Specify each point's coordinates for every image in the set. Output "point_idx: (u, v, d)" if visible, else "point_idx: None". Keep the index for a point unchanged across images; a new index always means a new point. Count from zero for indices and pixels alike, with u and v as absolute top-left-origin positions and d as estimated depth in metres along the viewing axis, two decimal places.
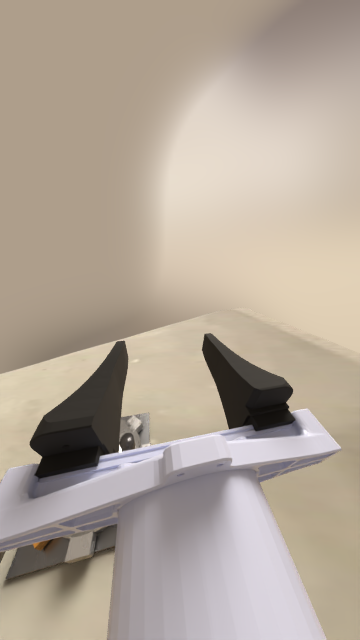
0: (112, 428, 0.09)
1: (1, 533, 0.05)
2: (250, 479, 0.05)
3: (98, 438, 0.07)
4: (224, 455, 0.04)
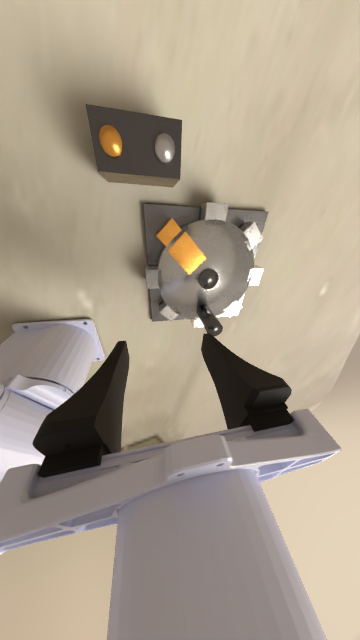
0: (114, 428, 0.09)
1: (1, 533, 0.05)
2: (250, 479, 0.05)
3: (100, 438, 0.07)
4: (224, 455, 0.04)
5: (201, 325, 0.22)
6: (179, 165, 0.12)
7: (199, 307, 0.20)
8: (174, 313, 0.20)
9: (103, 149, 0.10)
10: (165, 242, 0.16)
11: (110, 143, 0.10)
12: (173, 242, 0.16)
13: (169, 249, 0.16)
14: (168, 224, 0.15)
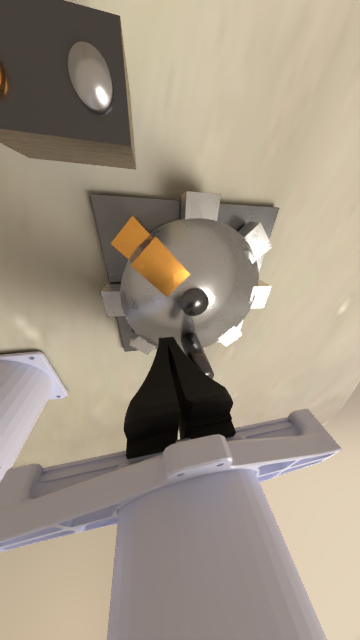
0: None
1: (1, 533, 0.05)
2: (250, 479, 0.05)
3: (178, 423, 0.07)
4: (224, 455, 0.04)
5: None
6: (126, 118, 0.06)
7: (184, 337, 0.15)
8: (150, 345, 0.15)
9: None
10: (125, 253, 0.10)
11: None
12: (138, 252, 0.10)
13: (133, 263, 0.11)
14: (127, 225, 0.10)
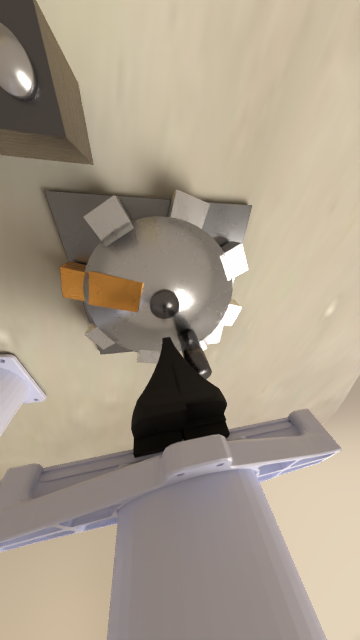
0: None
1: (1, 533, 0.05)
2: (250, 479, 0.05)
3: (185, 422, 0.07)
4: (224, 455, 0.04)
5: None
6: (56, 107, 0.06)
7: (179, 337, 0.15)
8: (154, 355, 0.16)
9: None
10: (78, 297, 0.11)
11: None
12: (87, 291, 0.11)
13: (89, 301, 0.12)
14: (63, 276, 0.10)
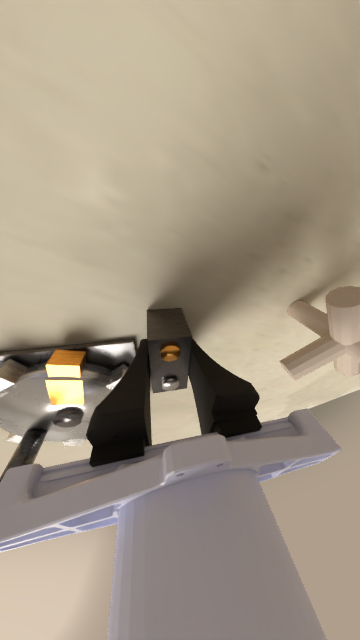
0: (149, 421, 0.09)
1: (1, 533, 0.05)
2: (250, 479, 0.05)
3: (146, 429, 0.07)
4: (224, 455, 0.04)
5: (20, 441, 0.16)
6: (161, 391, 0.13)
7: (33, 430, 0.15)
8: None
9: (165, 345, 0.10)
10: (50, 373, 0.12)
11: (169, 354, 0.11)
12: (60, 378, 0.12)
13: (49, 380, 0.12)
14: (70, 366, 0.12)
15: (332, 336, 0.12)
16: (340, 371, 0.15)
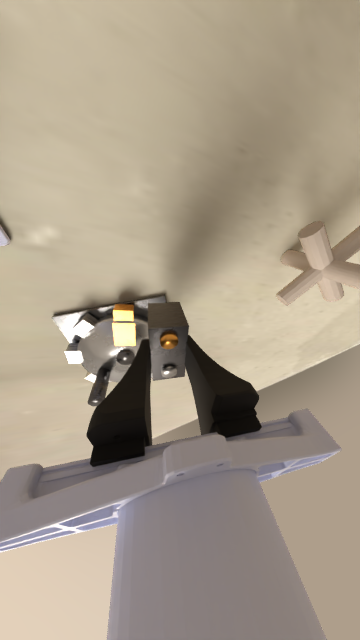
0: (149, 421, 0.09)
1: (1, 533, 0.05)
2: (250, 479, 0.05)
3: (146, 429, 0.07)
4: (224, 455, 0.04)
5: (93, 380, 0.23)
6: (161, 379, 0.14)
7: (103, 369, 0.22)
8: (78, 360, 0.20)
9: (164, 334, 0.11)
10: (115, 318, 0.18)
11: (167, 342, 0.12)
12: (121, 322, 0.18)
13: (114, 323, 0.18)
14: (127, 311, 0.18)
15: (311, 265, 0.16)
16: (327, 299, 0.19)
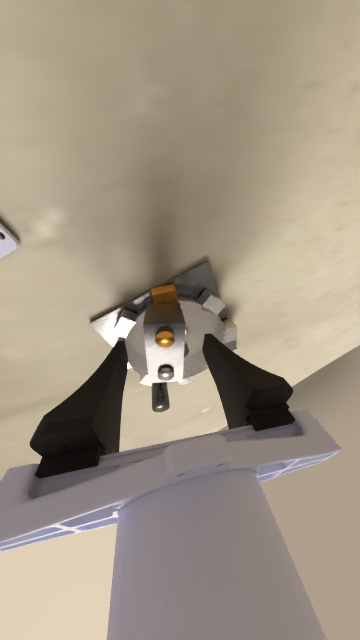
0: (112, 428, 0.09)
1: (1, 533, 0.05)
2: (250, 479, 0.05)
3: (98, 438, 0.07)
4: (224, 455, 0.04)
5: (149, 383, 0.21)
6: (157, 381, 0.14)
7: None
8: (128, 364, 0.18)
9: (160, 331, 0.11)
10: None
11: (163, 339, 0.11)
12: None
13: None
14: (169, 292, 0.14)
15: None
16: None
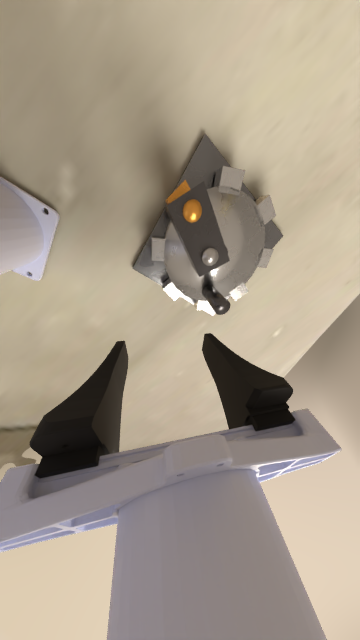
0: (112, 428, 0.09)
1: (1, 533, 0.05)
2: (250, 479, 0.05)
3: (98, 438, 0.07)
4: (224, 455, 0.04)
5: (205, 308, 0.21)
6: (206, 272, 0.14)
7: (205, 287, 0.19)
8: (178, 291, 0.19)
9: (184, 205, 0.11)
10: None
11: (190, 211, 0.11)
12: None
13: None
14: (180, 187, 0.14)
15: None
16: None
